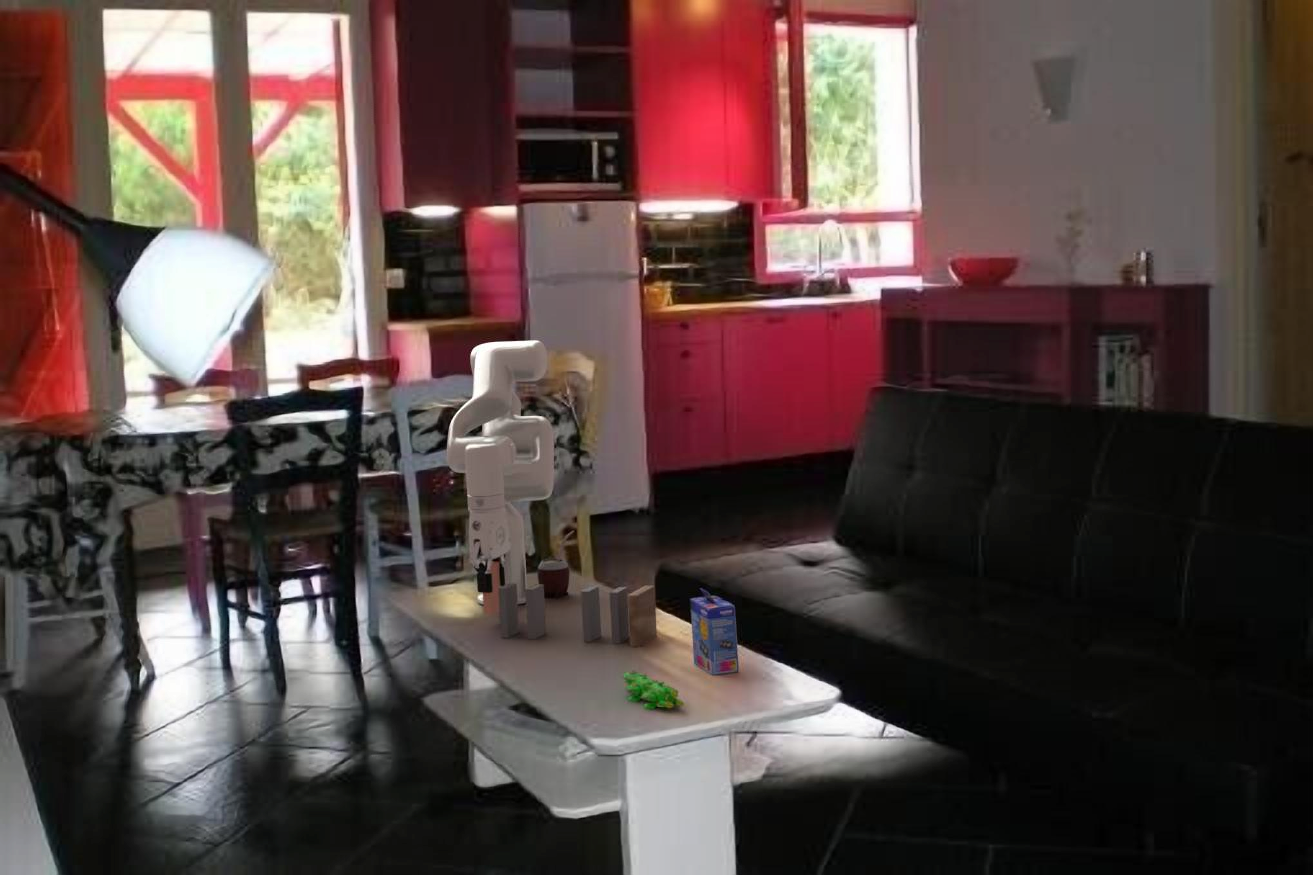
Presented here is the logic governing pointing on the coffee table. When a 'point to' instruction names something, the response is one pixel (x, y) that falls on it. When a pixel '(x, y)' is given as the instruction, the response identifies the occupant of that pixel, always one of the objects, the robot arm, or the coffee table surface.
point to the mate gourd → (554, 575)
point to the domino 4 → (591, 613)
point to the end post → (642, 616)
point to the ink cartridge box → (714, 634)
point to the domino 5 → (619, 615)
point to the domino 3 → (535, 611)
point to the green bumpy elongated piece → (650, 691)
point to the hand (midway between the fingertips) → (491, 587)
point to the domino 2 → (508, 610)
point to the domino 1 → (493, 598)
